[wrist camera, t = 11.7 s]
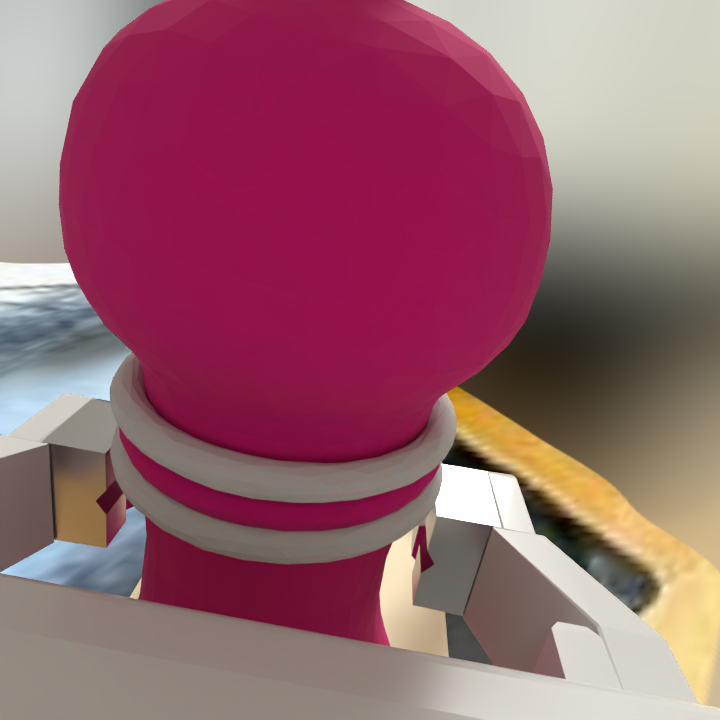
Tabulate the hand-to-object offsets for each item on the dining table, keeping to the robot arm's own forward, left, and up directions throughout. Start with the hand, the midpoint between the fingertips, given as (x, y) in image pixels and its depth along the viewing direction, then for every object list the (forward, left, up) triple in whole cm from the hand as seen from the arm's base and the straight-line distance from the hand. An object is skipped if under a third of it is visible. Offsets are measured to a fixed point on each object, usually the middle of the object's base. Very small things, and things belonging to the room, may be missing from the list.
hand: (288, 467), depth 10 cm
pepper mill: (0, -1, -11) cm, 12 cm away
